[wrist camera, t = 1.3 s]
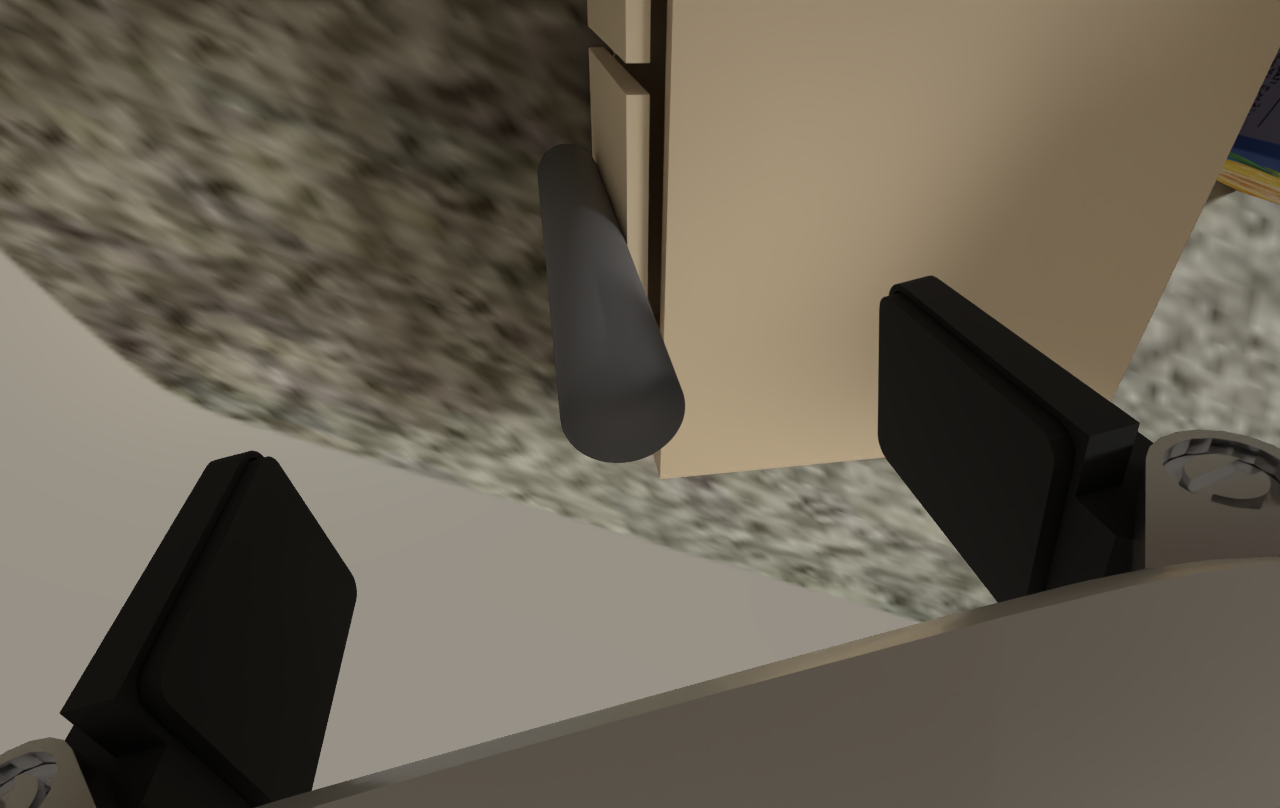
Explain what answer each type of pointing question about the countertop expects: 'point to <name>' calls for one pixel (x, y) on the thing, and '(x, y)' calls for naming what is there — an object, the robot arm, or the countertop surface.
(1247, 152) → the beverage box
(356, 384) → the countertop surface
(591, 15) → the flap
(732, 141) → the wooden cabinet
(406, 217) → the countertop surface
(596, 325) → the flap
